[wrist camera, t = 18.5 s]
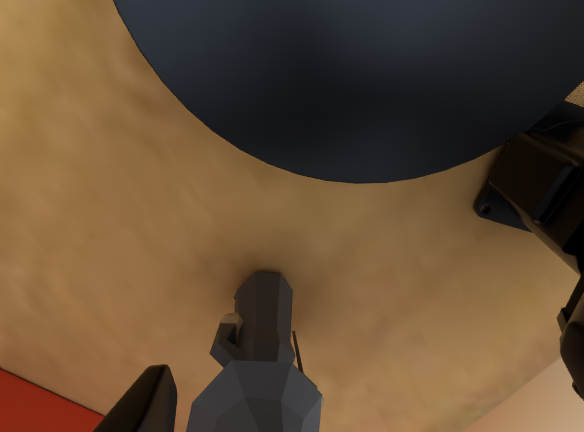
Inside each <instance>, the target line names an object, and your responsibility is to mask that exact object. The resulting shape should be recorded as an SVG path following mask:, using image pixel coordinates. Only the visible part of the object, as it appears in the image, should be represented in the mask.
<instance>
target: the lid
mask: <svg viewBox="0 0 584 432" xmlns="http://www.w3.org/2000/svg"><path fill="white" fill-rule="evenodd" d="M113 1H114V4H115V6H116V8H117V11H118V13H119V15H120V17H121V18H122V20H123V22H124V24H125V25H126V27H127V29H128V31H129V33H130V34H131V36H132V38H133V40H134V41H135V43H136V45H137V47H138V48H139V50H140V52H141V53H142V54H143V56H144V57H145V59H146V60H147V61H148V63H149V64H150V65H151V67H152V68H153V70H154V71H155V72H156V74H157V75H158V76H159V78H160V79H161V81H162V82H163V83H164V84H165V85H166V86H167V87H168V89H169V90H170V91H171V92H172V93H173V94H174V95H175V96H176V97H177V98H178V100H179V101H180V102H181V103H182V104H183V105H184V106H185V107H186V108H187V109H188V110H189V111H190V112H191V113H192V114H194V115H195V116H196V117H197V118H198V119H199V120H200V121H202V122H203V123H204V124H205V125H206V126H207V127H209V128H210V129H211V130H212V131H213V132H215V133H216V134H218V135H219V136H221V137H222V138H224V139H225V140H227V141H228V142H230V143H231V144H233V145H234V146H236V147H237V148H238V149H240V150H242V151H244V152H246V153H248V154H250V155H252V156H254V157H256V158H258V159H260V160H262V161H264V162H265V163H267V164H270V165H273V166H276V167H278V168H281V169H284V170H287V171H289V172H292V173H295V174H298V175H303V176H307V177H312V178H316V179H321V180H325V181H334V182H345V183H355V184H357V183H387V182H394V181H401V180H408V179H415V178H419V177H423V176H426V175H430V174H434V173H438V172H441V171H445V170H448V169H450V168H453V167H455V166H458V165H461V164H463V163H466V162H468V161H471V160H473V159H476V158H478V157H480V156H481V155H483V154H485V153H487V152H489V151H491V150H493V149H495V148H497V147H499V146H501V145H503V144H505V143H506V142H508V141H509V140H511V139H512V138H514V137H515V136H517V135H518V134H520V133H521V132H523V131H525V130H526V129H528V128H529V127H531V126H532V125H534V124H535V123H536V122H537V121H539V120H540V119H541V118H542V117H544V116H545V115H546V114H547V113H549V112H550V111H551V110H552V109H554V108H555V107H556V106H557V105H558V104H560V103H561V102H562V101H563V100H564V99H565V98H566V97H567V96H568V95H569V94H570V93H571V92H572V91H573V90H574V89H576V88H577V87H578V86H579V85H580V84H581V83H582V82H583V81H584V0H113Z"/></svg>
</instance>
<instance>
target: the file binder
mask: <svg viewBox="0 0 584 432" xmlns="http://www.w3.org/2000/svg"><path fill="white" fill-rule="evenodd" d="M103 418H104V417H103V416H101V415H99V414H97V413H95V412H92V411H90V410H88V409H86V408H84V407H81V406H79V405H77V404H75V403H73V402H71V401H68V400H66V399H64V398H62V397H60V396H57V395H55V394H53V393H51V392H49V391H47V390H44V389H42V388H40V387H38V386H36V385H33V384H31V383H29V382H27V381H25V380H23V379H20V378H18V377H16V376H14V375H12V374H9V373H7V372H5V371H3V370H1V369H0V432H92V431H93V430H94V429H95V428H96V427H97V425H98V424H99V423H100V422H101V421H102V420H103Z"/></svg>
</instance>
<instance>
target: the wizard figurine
mask: <svg viewBox="0 0 584 432" xmlns="http://www.w3.org/2000/svg"><path fill="white" fill-rule="evenodd" d="M292 292H293V290H292V289H291V288H290V286H289V285H288V283H287V282H286V280H285V279H284V278H283V276H282V275H281V273H265V272H255V273H254V274H253V275H252V276H251V277H250V278H249V279H248V280H247V281H246V282H245V283H244V284H243V285H242V286H241V287H240V288H239V289H238V290H237V293H236V294H235V296H234V299H235V300H236V301H235V313H228V314H226V315H224V316H223V318H222V319H221V321H220V325H219V328H218V331H217V334H216V337H215V339H214V342H213V345H212V348H211V351H210V354H211V355H212V357H213V358H214V359H215V360H216V361H217V362H218V363H219V364H220V365H221V366H222V367H223V368H224V369H223V370H222V371H221V372H220V373H219V374H218V376H217V377H216V378H215V379H214V380H213V381H212V382H211V383H210V384H209V385H208V386H207V387H206V388H205V390H204V391H203V392H202V393H201V394H200V395H199V396H198V397H197V398H196V399H195V400H194V401H193V403H192V407H191V412H190V416H189V421H188V426H187V430H186V432H319V424H320V413H321V406H322V403H323V401H324V398H323V397H322V394H321V393H320V392H319V391H318V390H317V386H316V385H315V384H314V383H313V382H312V381H311V380H310V379H309V378H308V377H307V376H306V375H305V374H304V372H303V368H302V363H301V358H300V353H299V349H298V344H297V339H296V334H295V331H292V332H293V339H294V345H295V351H296V357H297V363H298V369H299V370H298V369H297V368H296V367H295V366H294V364H293V362H294V359H295V353H294V350H293V347H292V344H291V342H290V337H291V314H292ZM234 345H235V346H234Z"/></svg>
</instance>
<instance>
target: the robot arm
mask: <svg viewBox="0 0 584 432" xmlns="http://www.w3.org/2000/svg"><path fill="white" fill-rule="evenodd" d="M485 205H488V206H487V208H486V209H484V210H482V207H483V206H485ZM473 208H474V211H475V213H476V214H477V215H478V216H480V217H482V218H485V219H488V220H492V221H495V222H498V223H502V224H505V225H508V226H512V227H515V228H518V229H522V230H525V231H529V232H532V233H534V234H535V235H536V236H537V237H538V238H539V239H540V240H542V241H543V242H544V243H545V244H546V245H547V246H548V247H549V248H550V249H551V250H552V251H553V252H555V253H556V254H557V255H558V256H559V257H560V258H561V259H562V260H563V261H564V262H565V263H566V264H567V265H569V266H570V267H571V268H572V269H573V270H574V271H575V272H576V273H577V274H578V275H579V276H580V279H579V281H578V283H577V285H576V287H575V289H574V291H573V293H572V295H571V297H570V299H569V301H568V303H567V305H566V307H564V308H562V309H561V311H560V313H559V315H558V317H557V321H558V324H559V326H560V329H561V332H562V335H561V337H560V353H561V357H562V359H563V361H564V363H565V365H566V367H567V368H568V371H569V373H570V375H571V377H572V379H573V383H572V387H573V388H574V390H575V392H576V393H577V394H578V395H579V396H580V397H581V398H582V399H583V401H584V108H583V107H580V106H578V105H575V104H573V103H570V102H567V101H565V100H563V101H562V102H561V103H560V104H558V105H557V106H556V107H555V108H554V109H552V110H551V111H550V112H549V113H547V114H546V115H545V116H544V117H542V118H541V119H540V120H539V121H537V122H536V123H535V124H534V125H532V126H531V127H529V128H528V129H526V130H525V131H523V132H521V133H520V134H518V135H517V136H515V137H514V138H512V139H511V141H510V143H509V144H508V146H507V148H506V149H505V151H504V153H503V154H502V156H501V158H500V160H499V161H498V163H497V165H496V166H495V168H494V170H493V171H492V173H491V175H490V176H489V178H488V182H487V183H486V185H485V187H484V188H483V190H482V192H481V193H480V195H479V197H478V198H477V200H476V202H475V204H474V206H473ZM176 406H177V388H176V385H175V382H174V379H173V376H172V374H171V371H170V368H169V366H168V365H166V364H161V365H152V366H149V367H148V368H147V369H146V370H145V371H144V372H143V373H142V374H141V376H140V377H139V378H138V379H137V380H136V381H135V382H134V384H133V385H132V386H131V387H130V388H129V389H128V391H127V392H126V393H125V394H124V395H123V396H122V398H121V399H120V400H119V401H118V402H117V403H116V405H115V406H114V407H113V408H112V409H111V410H110V411H109V413H108V414H107V415H106V416H105V417H104V418H103V420H102V421H101V422H100V423H99V424H98V425H97V427H96V428H95V429H94V430H93V431H92V432H174V425H175V415H176Z"/></svg>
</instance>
